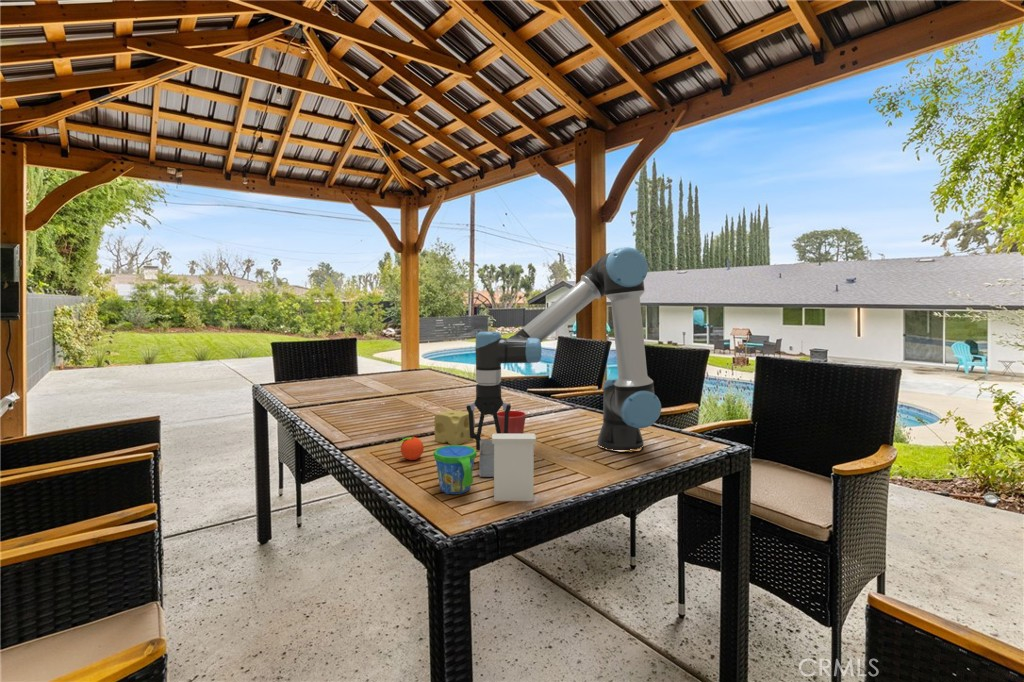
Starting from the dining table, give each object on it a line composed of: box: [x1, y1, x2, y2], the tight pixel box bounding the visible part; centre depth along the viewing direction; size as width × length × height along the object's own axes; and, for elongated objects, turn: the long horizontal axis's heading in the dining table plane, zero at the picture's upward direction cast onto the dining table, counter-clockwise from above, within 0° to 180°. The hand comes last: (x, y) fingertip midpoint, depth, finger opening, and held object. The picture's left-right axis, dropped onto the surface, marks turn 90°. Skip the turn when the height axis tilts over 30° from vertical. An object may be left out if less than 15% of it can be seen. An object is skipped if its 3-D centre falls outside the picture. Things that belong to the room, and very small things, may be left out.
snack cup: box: [433, 444, 478, 495], centre depth 118 cm, size 16×10×10 cm
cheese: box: [434, 409, 476, 446], centre depth 165 cm, size 10×11×10 cm
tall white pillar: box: [491, 433, 537, 502], centre depth 117 cm, size 10×12×15 cm
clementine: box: [398, 436, 425, 461], centre depth 143 cm, size 8×7×7 cm
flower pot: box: [497, 410, 527, 434], centre depth 165 cm, size 11×11×10 cm
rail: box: [478, 439, 494, 478], centre depth 135 cm, size 4×16×6 cm, turn 1°
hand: (489, 460), depth 140 cm, fingers closed on rail, 4 cm apart
